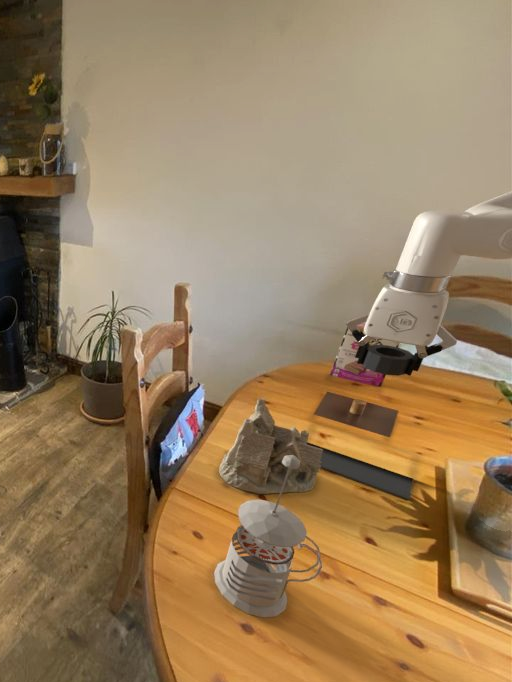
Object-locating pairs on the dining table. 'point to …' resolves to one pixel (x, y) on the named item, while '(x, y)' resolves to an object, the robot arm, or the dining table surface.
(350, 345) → the candy bar box
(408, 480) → the felt mat
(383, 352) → the tape roll
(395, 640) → the dining table surface
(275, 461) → the ceramic cottage
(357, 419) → the tape stand
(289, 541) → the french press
